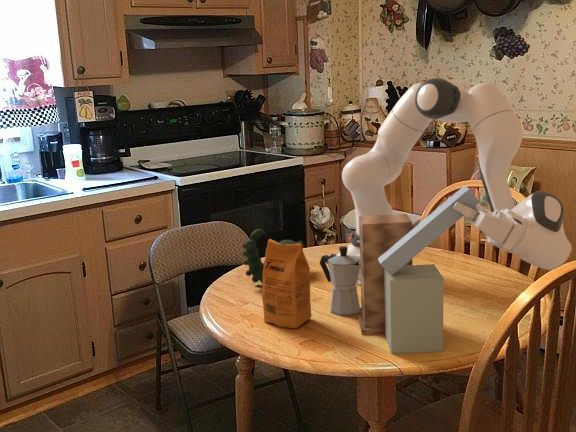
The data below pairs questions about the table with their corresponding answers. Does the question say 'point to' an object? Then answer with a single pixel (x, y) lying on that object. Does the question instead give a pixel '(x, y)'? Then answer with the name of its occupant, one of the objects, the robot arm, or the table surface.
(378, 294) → the walnut stand
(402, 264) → the rail
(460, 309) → the table surface
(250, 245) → the toy figurine
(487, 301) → the table surface
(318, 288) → the table surface
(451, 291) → the table surface
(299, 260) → the coffee package
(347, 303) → the coffee maker
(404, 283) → the step block
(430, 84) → the robot arm
